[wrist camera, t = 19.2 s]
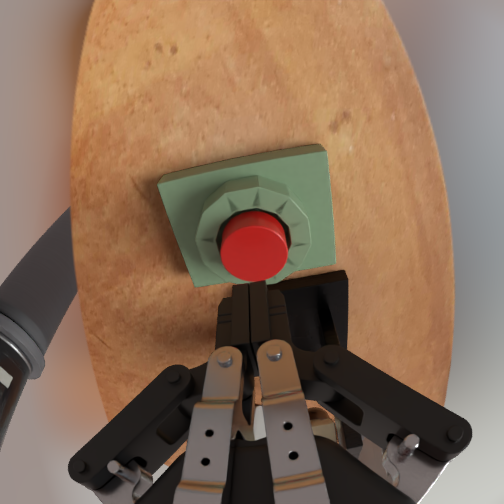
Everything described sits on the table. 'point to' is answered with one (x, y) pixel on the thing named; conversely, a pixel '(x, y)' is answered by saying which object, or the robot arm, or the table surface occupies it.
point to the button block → (253, 208)
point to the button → (253, 246)
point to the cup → (374, 459)
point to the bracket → (320, 326)
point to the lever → (322, 423)
